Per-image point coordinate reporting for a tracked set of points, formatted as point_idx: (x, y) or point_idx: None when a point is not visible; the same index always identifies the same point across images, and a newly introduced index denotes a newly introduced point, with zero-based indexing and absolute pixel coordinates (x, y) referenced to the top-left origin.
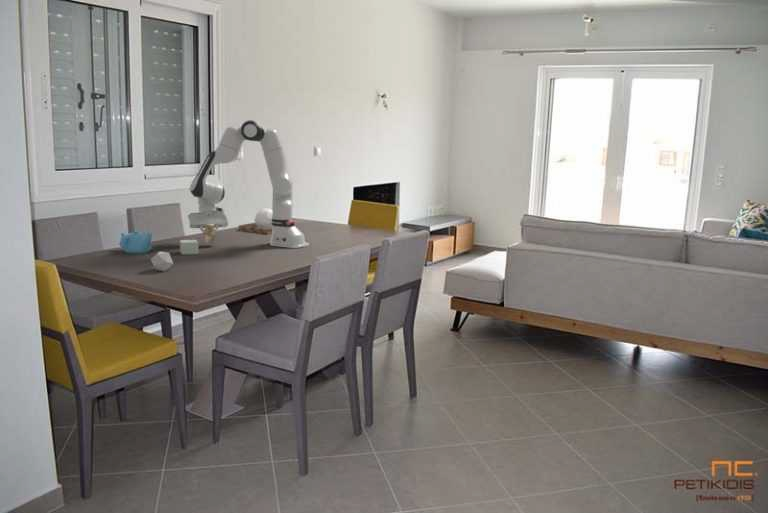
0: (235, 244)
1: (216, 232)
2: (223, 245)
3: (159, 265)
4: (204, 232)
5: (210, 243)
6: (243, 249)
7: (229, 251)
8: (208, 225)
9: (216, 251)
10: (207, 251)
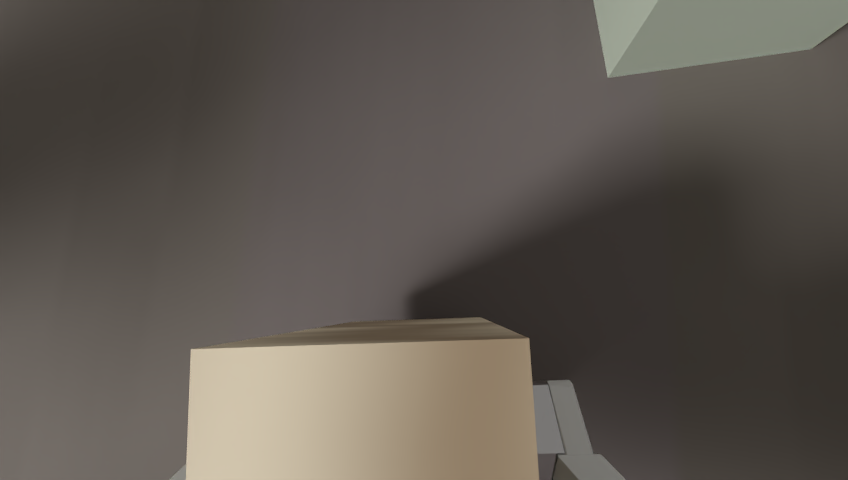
0: (82, 455)
1: None
2: None
3: None
4: None
5: (416, 319)
6: (60, 110)
7: (227, 10)
8: (409, 344)
9: (369, 20)
10: (471, 26)
